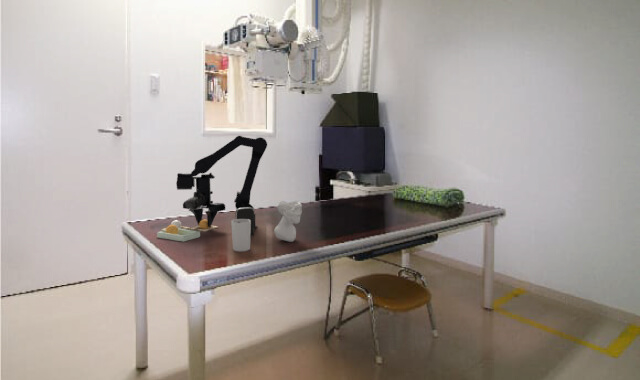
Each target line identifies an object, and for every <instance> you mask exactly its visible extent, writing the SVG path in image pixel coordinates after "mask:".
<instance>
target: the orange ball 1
mask: <svg viewBox="0 0 640 380" xmlns="http://www.w3.org/2000/svg"><path fill="white" fill-rule="evenodd" d="M165 228H166V233H170V234H177V233H178V228H177V226H175V225H171V224H169V225H168V226H167V227H165Z"/></svg>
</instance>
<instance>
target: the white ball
mask: <svg viewBox="0 0 640 380" xmlns="http://www.w3.org/2000/svg"><path fill="white" fill-rule="evenodd" d="M170 225H175V226H177V228H179V229H182V228H181V226H183V225H182V222H181V221H180V220H177V219H176V220H173V221H171V223H170Z"/></svg>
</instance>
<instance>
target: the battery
mask: <svg viewBox="0 0 640 380" xmlns="http://www.w3.org/2000/svg"><path fill="white" fill-rule="evenodd" d="M235 209H236V208H235ZM254 214H255V209H254V210H253V209H252V208H250V207H243V208H238V209H236V210H235V220H236V219H249V220H251V232H250V237H255V228H254Z"/></svg>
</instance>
